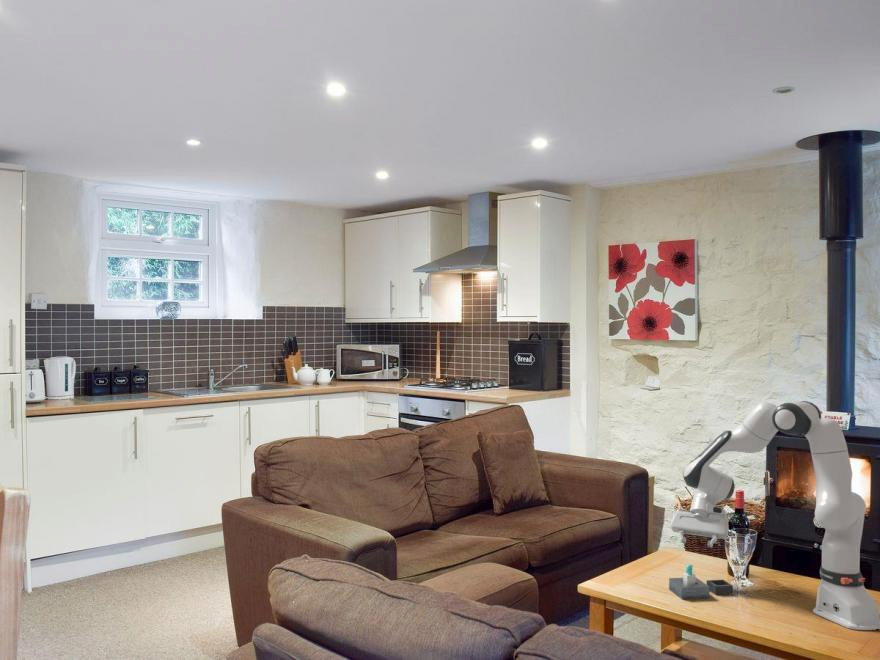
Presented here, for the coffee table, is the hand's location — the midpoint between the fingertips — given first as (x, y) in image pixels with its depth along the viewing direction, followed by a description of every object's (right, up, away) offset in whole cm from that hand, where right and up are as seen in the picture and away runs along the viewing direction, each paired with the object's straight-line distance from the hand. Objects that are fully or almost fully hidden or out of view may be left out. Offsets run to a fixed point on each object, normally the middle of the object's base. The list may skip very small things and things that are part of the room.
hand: (696, 544), depth 272 cm
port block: (-5, -15, -8) cm, 18 cm away
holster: (+6, -15, -6) cm, 17 cm away
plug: (-5, -15, -9) cm, 18 cm away
